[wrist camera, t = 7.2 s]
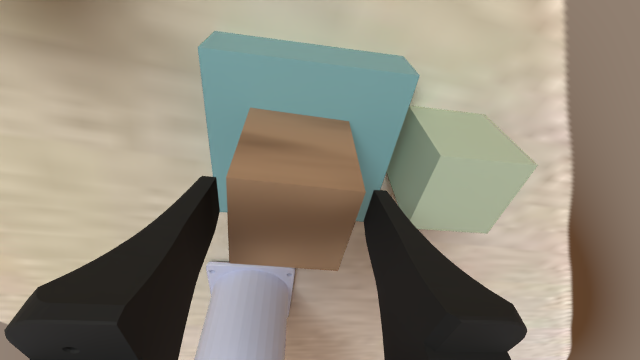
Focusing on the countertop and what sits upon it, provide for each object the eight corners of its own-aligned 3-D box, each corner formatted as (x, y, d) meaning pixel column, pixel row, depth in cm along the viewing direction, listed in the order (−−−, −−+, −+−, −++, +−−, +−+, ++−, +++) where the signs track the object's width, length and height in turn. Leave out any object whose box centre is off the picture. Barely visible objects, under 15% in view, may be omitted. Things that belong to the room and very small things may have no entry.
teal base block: (361, 188, 23) (368, 221, 20) (228, 177, 22) (217, 211, 19) (400, 53, 16) (419, 75, 14) (217, 28, 15) (197, 47, 13)
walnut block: (330, 193, 18) (337, 270, 14) (248, 184, 17) (229, 263, 13) (349, 121, 15) (365, 192, 11) (250, 107, 14) (226, 177, 10)
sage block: (451, 176, 22) (487, 233, 17) (385, 170, 21) (406, 228, 17) (484, 114, 18) (538, 165, 14) (408, 105, 18) (440, 155, 14)
